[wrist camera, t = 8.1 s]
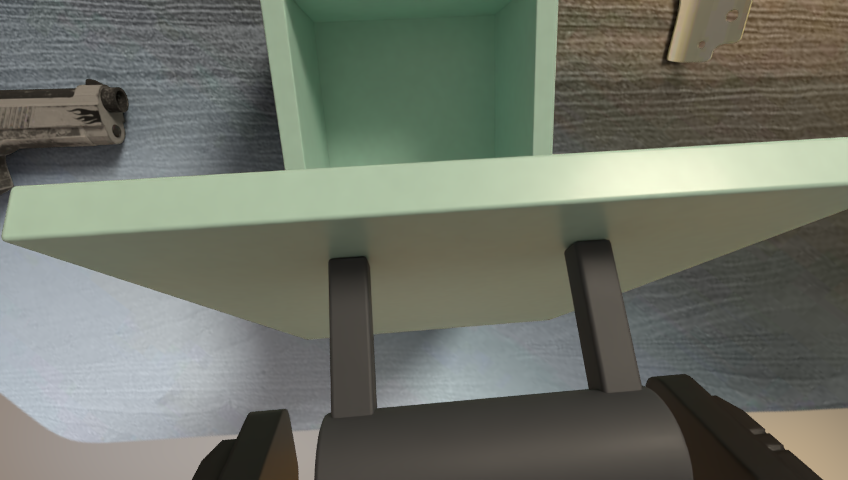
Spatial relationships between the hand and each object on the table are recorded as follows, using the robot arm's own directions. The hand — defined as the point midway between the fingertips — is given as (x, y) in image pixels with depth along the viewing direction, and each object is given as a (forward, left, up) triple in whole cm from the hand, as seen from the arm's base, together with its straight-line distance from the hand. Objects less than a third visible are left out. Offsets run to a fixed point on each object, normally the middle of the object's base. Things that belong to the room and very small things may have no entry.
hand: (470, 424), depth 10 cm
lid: (-1, -1, -6) cm, 6 cm away
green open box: (-3, -3, -22) cm, 23 cm away
